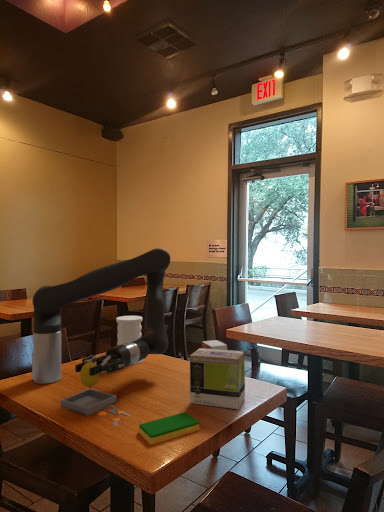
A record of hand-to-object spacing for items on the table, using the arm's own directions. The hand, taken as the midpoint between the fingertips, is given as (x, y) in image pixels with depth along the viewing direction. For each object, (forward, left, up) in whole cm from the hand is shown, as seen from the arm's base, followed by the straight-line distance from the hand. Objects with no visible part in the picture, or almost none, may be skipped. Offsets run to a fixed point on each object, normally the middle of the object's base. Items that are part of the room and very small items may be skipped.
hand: (83, 370), depth 106 cm
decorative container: (-20, +42, -11) cm, 48 cm away
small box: (+21, +41, -11) cm, 48 cm away
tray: (0, +2, -11) cm, 11 cm away
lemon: (0, +3, -6) cm, 7 cm away
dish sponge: (+29, +2, -11) cm, 32 cm away
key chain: (+11, +1, -11) cm, 16 cm away
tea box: (+31, +25, -11) cm, 41 cm away
